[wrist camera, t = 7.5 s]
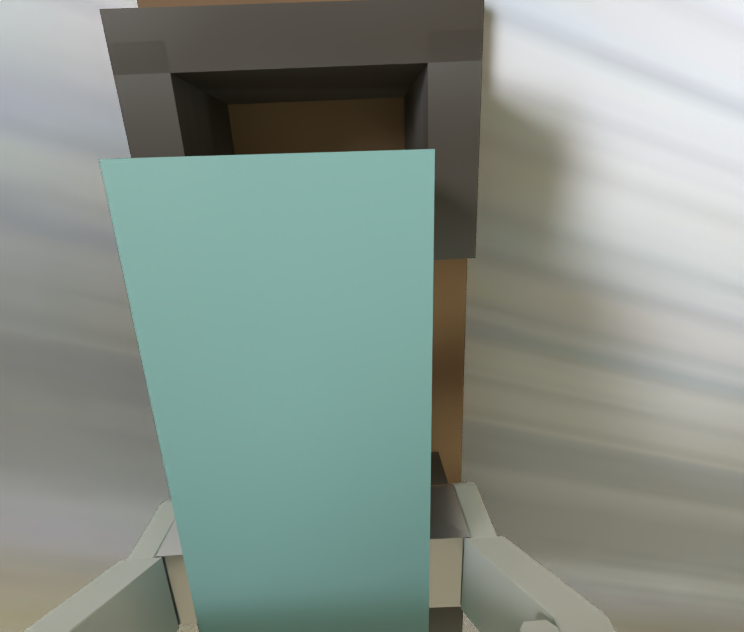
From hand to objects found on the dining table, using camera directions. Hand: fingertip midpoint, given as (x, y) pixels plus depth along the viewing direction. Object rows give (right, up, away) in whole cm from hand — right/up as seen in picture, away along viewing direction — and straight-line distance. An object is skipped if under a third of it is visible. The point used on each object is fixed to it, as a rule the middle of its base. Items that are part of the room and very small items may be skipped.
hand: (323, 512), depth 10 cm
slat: (0, 0, +2) cm, 2 cm away
